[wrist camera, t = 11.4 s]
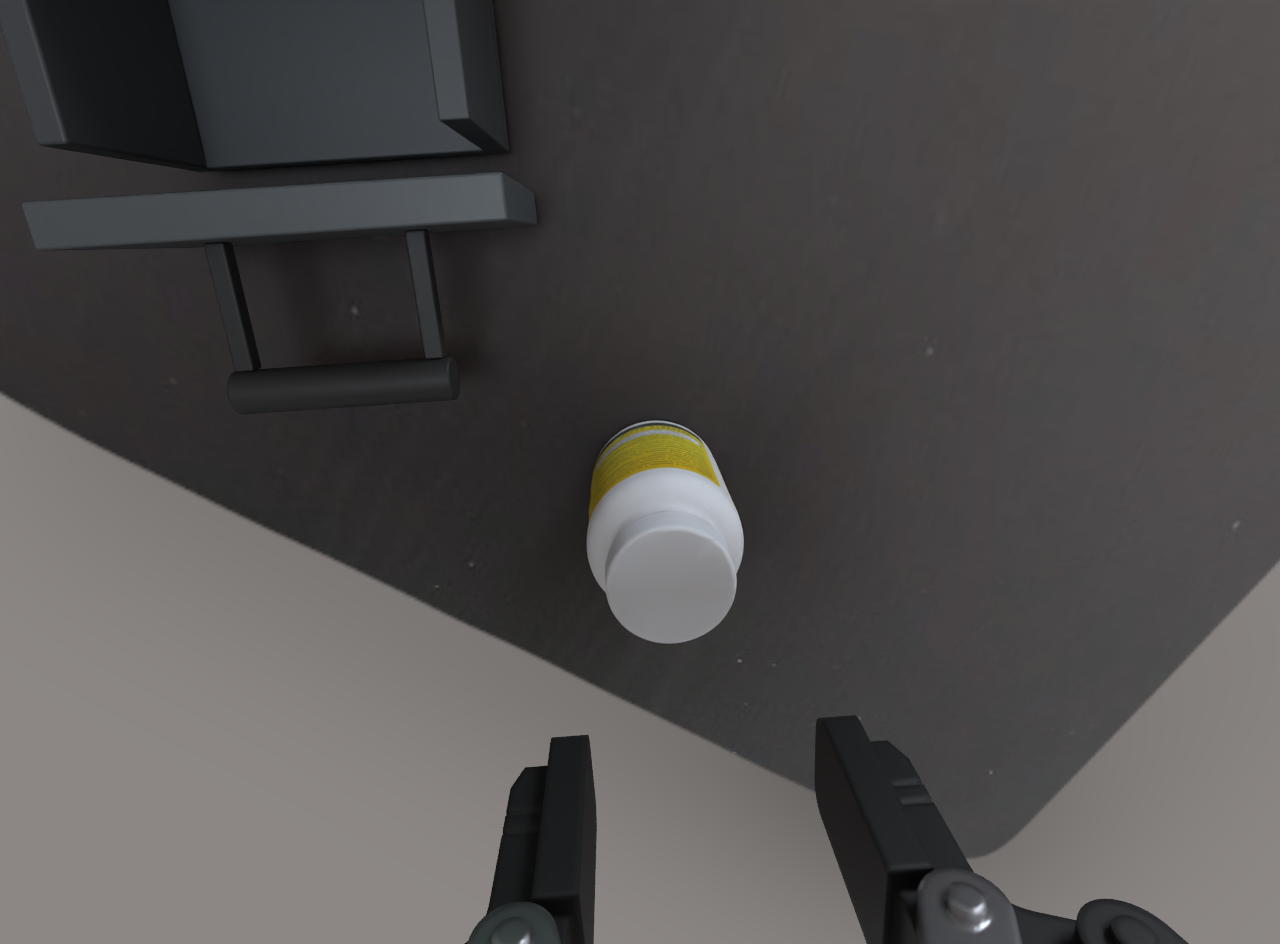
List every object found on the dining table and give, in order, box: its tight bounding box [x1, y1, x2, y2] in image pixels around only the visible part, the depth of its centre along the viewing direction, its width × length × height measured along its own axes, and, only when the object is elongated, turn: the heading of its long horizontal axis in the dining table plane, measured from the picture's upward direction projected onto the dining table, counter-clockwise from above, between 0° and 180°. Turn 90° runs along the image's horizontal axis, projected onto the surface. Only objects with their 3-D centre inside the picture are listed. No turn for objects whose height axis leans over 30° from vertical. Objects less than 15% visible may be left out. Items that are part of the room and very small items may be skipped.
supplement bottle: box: [586, 421, 744, 643], centre depth 25 cm, size 5×5×10 cm
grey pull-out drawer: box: [0, 0, 537, 414], centre depth 21 cm, size 20×12×8 cm, turn 4°
